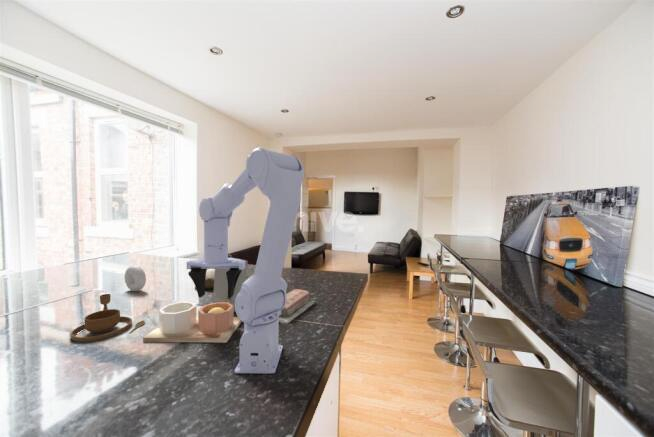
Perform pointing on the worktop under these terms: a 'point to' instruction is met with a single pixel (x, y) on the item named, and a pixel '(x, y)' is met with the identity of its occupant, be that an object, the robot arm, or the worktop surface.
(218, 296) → the skincare box
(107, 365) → the worktop surface
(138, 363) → the worktop surface
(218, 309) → the ball
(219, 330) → the terracotta octagonal bowl
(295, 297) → the packaged product
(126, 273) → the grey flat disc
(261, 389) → the worktop surface
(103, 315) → the place setting
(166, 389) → the worktop surface
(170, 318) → the tube white
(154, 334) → the rack board
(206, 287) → the skull
